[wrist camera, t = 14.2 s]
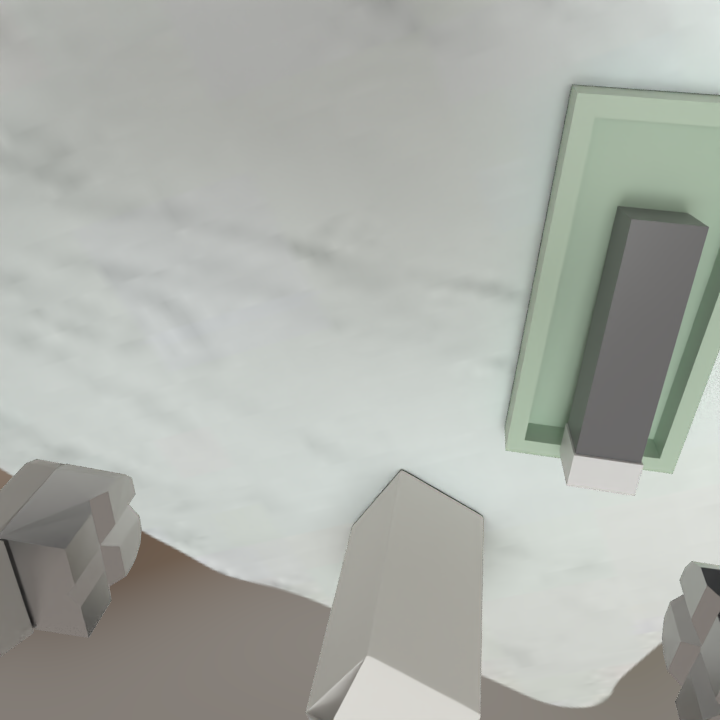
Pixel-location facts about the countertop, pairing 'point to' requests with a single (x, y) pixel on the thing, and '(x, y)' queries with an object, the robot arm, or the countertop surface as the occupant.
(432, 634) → the milk carton
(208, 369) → the countertop surface
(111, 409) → the countertop surface
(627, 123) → the tray
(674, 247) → the dark grey bar
